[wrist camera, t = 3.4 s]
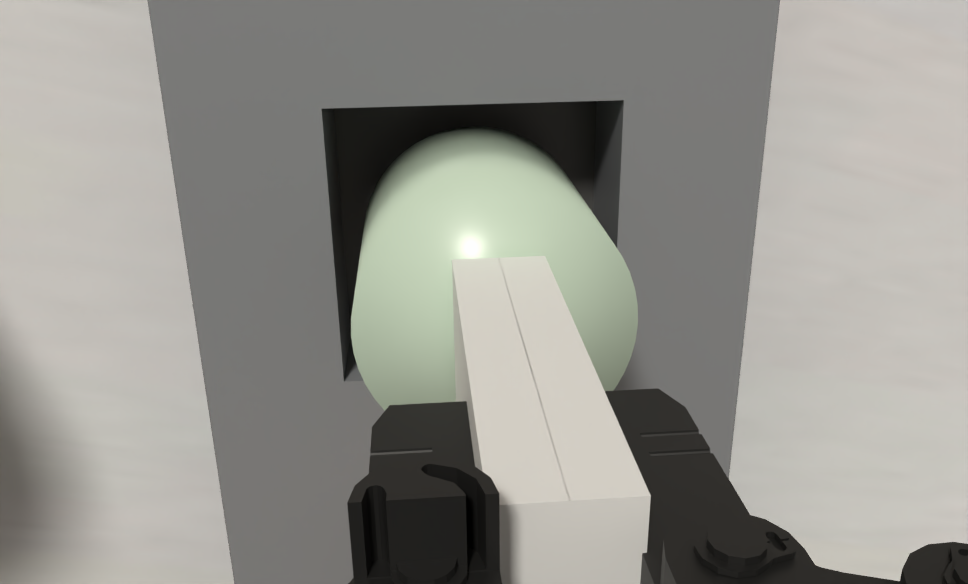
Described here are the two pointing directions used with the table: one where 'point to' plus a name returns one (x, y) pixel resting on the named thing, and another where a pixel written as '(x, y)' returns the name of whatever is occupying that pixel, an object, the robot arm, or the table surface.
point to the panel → (370, 151)
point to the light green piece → (471, 235)
